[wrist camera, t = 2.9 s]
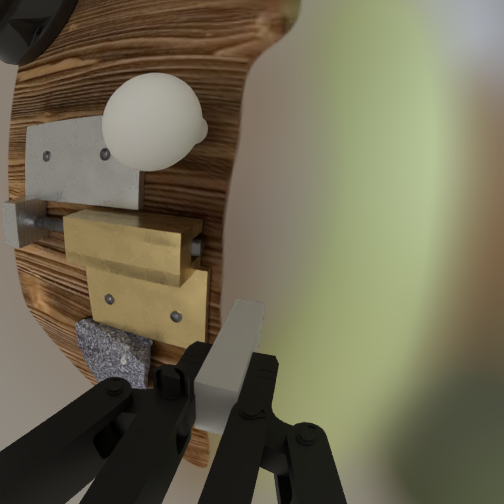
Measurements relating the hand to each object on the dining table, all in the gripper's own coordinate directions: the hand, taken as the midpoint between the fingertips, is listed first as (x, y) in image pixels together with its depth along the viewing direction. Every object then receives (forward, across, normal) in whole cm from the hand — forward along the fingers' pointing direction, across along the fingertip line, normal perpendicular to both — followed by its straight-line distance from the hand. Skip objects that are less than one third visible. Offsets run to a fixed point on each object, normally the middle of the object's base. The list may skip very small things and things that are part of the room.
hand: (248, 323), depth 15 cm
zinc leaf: (+10, -18, +5) cm, 21 cm away
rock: (+11, -17, -16) cm, 26 cm away
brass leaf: (+11, -12, -4) cm, 17 cm away
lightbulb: (+11, -8, +10) cm, 17 cm away
